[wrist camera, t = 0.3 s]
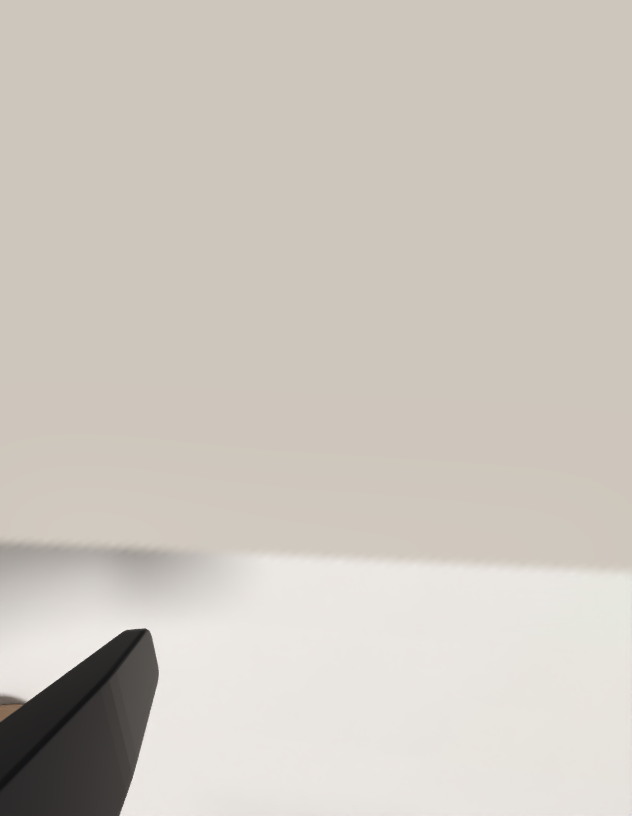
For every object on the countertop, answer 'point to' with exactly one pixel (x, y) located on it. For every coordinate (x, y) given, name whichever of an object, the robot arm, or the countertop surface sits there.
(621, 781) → the countertop surface
